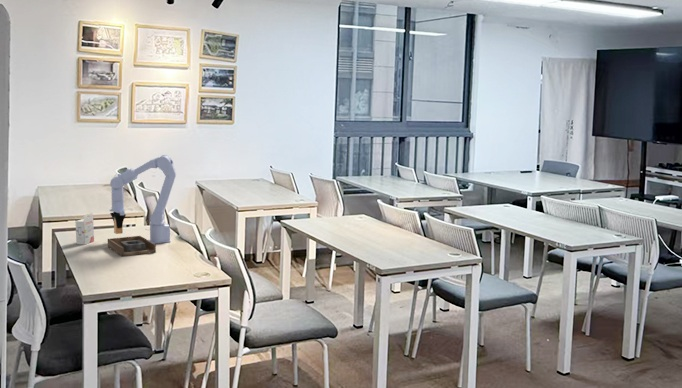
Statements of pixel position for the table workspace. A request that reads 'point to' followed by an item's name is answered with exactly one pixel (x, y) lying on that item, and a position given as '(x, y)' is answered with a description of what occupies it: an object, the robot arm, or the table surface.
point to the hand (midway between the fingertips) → (118, 227)
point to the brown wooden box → (131, 246)
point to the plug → (117, 230)
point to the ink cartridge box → (85, 230)
